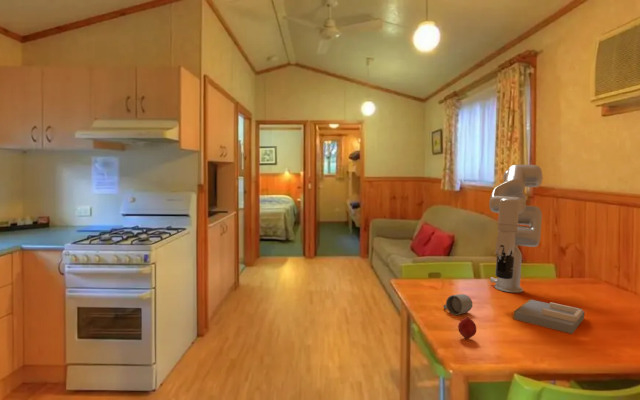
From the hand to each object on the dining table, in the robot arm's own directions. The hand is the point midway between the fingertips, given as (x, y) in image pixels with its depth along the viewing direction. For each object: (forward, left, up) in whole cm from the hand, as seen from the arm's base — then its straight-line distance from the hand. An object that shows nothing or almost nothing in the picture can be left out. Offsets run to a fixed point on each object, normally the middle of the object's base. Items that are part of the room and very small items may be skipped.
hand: (504, 269), depth 174 cm
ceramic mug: (-11, -21, -16) cm, 29 cm away
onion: (+3, -45, -16) cm, 48 cm away
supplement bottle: (0, 0, -3) cm, 3 cm away
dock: (+18, -1, -16) cm, 24 cm away
